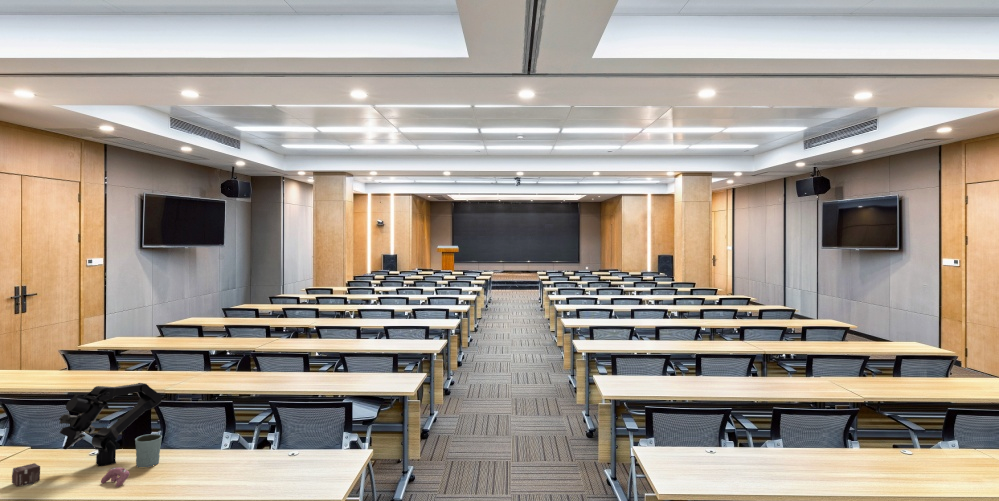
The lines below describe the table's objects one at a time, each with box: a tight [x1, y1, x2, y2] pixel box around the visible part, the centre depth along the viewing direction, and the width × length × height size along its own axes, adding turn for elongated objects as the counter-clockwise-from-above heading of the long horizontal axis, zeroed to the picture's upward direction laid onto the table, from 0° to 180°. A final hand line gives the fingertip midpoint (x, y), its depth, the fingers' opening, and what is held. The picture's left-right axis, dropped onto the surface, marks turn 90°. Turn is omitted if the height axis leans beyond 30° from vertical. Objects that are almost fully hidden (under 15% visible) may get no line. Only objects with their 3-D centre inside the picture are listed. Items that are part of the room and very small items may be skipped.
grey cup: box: [134, 433, 163, 468], centre depth 246 cm, size 10×10×12 cm
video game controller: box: [100, 467, 130, 488], centre depth 226 cm, size 10×5×7 cm, turn 72°
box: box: [11, 462, 41, 487], centre depth 223 cm, size 6×6×7 cm
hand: (64, 448), depth 235 cm, fingers closed
